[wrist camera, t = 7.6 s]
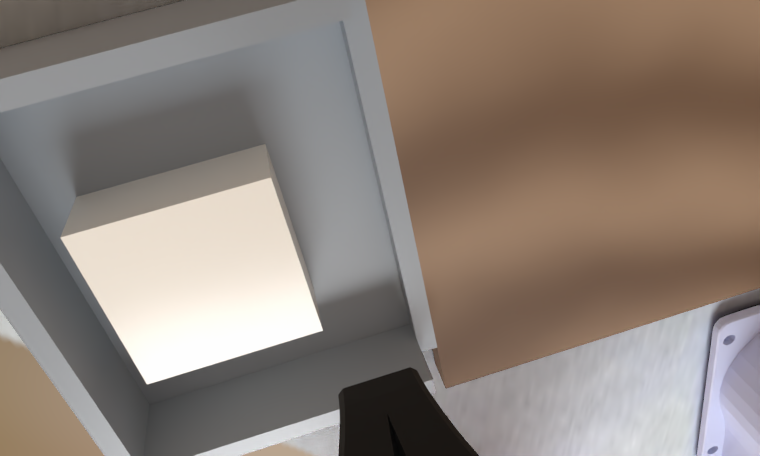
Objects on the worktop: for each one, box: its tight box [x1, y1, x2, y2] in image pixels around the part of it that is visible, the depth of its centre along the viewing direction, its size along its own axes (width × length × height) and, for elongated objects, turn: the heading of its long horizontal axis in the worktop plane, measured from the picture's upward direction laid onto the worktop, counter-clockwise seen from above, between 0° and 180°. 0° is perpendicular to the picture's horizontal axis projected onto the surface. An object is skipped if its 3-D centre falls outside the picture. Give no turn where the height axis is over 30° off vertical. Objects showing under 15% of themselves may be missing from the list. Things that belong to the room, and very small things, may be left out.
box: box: [0, 0, 437, 456], centre depth 17 cm, size 12×10×3 cm
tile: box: [60, 144, 323, 384], centre depth 17 cm, size 5×5×2 cm
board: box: [365, 0, 760, 388], centre depth 18 cm, size 16×13×1 cm
